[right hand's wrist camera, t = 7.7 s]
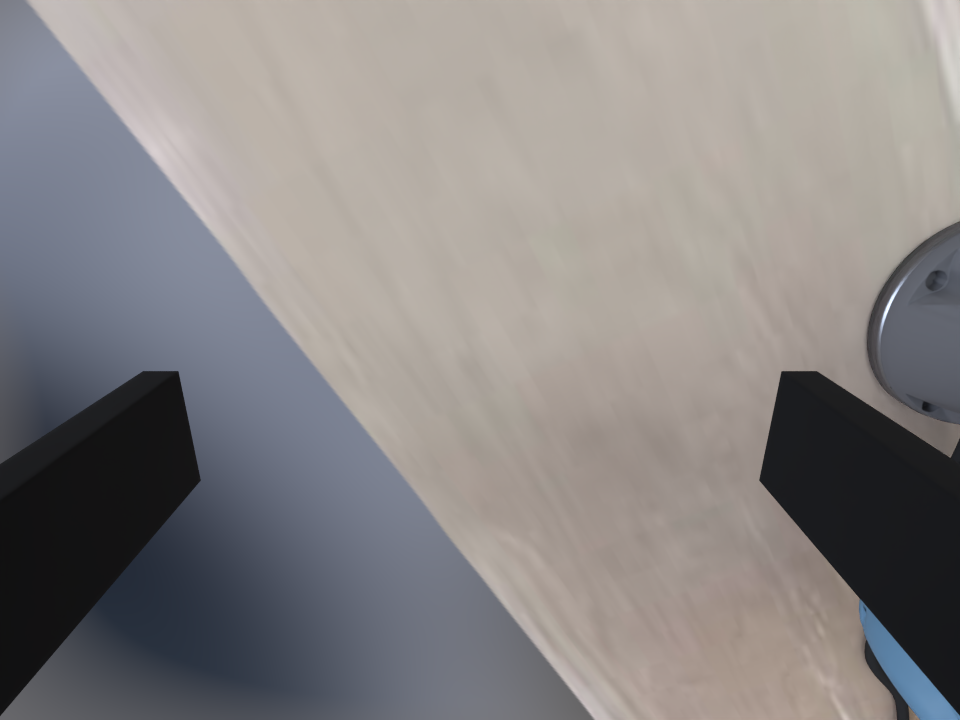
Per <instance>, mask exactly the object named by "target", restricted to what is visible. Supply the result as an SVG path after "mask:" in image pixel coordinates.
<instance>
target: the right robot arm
mask: <svg viewBox="0 0 960 720" xmlns="http://www.w3.org/2000/svg"><path fill="white" fill-rule="evenodd" d="M867 346H868V355H869V361H870V364H871V367H872V370H873V372H874V374H875V376H876V378H877V380H878V381H879V383H880V384H881V386H882V387H883V388H884V389H885V390H886V391H887V392H888V393H889V394H890V395H891V396H892V397H894V398H895V399H896V400H898V401H900V402H901V403H903V404H905V405H906V406H908V407H910V408H911V409H913V410H915V411H917V412H919V413H921V414H924V415H926V416H929V417H932V418H934V419H938V420H941V421H945V422H950V423H955V424H960V222H958V223H956V224H954V225H951V226H949V227H947V228H945V229H944V230H942V231H940V232H938V233H937V234H935V235H934V236H932V237H931V238H929V239H928V240H926V241H925V242H924V243H923V244H921V245H920V246H919V247H918V248H916V249H915V250H914V251H913V252H912V253H911V254H910V255H909V256H908V257H907V258H906V259H905V260H904V261H903V262H902V263H901V264H900V265H899V266H898V268H897V269H896V270H895V271H894V273H893V274H892V275H891V277H890V278H889V280H888V281H887V283H886V284H885V286H884V288H883V289H882V291H881V293H880V295H879V297H878V299H877V301H876V303H875V306H874V309H873V312H872V315H871V319H870V323H869V328H868V339H867ZM759 481H760V482H761V483H762V484H763V485H764V486H765V488H766V489H767V490H768V491H769V492H770V494H771V495H772V496H773V497H774V498H775V499H776V501H777V502H778V503H779V504H780V505H781V506H782V508H783V509H784V510H785V511H786V512H787V513H788V515H789V516H790V517H791V518H792V519H793V521H794V522H795V523H796V524H797V525H798V526H799V528H800V529H801V530H802V531H803V532H804V533H805V535H806V536H807V537H808V538H809V539H810V540H811V542H812V543H813V544H814V545H815V546H816V548H817V549H818V550H819V551H820V552H821V553H822V555H823V556H824V557H825V558H826V559H827V560H828V562H829V563H830V564H831V565H832V566H833V568H834V569H835V570H836V571H837V572H838V573H839V575H840V576H841V577H842V578H843V579H844V580H845V582H846V583H847V584H848V585H849V586H850V587H851V589H852V590H853V591H854V592H855V593H856V595H857V596H858V597H859V598H860V601H859V613H860V620H861V623H862V626H863V630H864V633H865V637H866V639H867V640H866V644H865V658H866V661H867V664H868V666H869V667H870V669H871V670H872V672H873V673H874V675H875V676H876V677H877V678H878V679H879V680H880V681H881V682H882V683H883V684H884V685H885V687H886V688H887V689H888V690H889V691H890V692H891V694H892V695H893V697H894V700H895V703H896V710H897V720H909V709H908V705H909V707H910V708H911V709H912V710H913V712H914V713H915V714H916V715H917V716H918V718H919V719H920V720H960V439H959V441H958V444H957V446H956V448H955V450H954V452H953V455H952V457H951V458H949V457H948V456H946V455H945V454H943V453H942V452H940V451H939V450H937V449H936V448H934V447H933V446H931V445H929V444H928V443H926V442H925V441H923V440H922V439H920V438H919V437H917V436H916V435H914V434H913V433H911V432H909V431H908V430H906V429H905V428H903V427H902V426H900V425H899V424H897V423H896V422H894V421H893V420H891V419H889V418H888V417H886V416H885V415H883V414H882V413H880V412H879V411H877V410H876V409H874V408H873V407H871V406H869V405H868V404H866V403H865V402H863V401H862V400H860V399H859V398H857V397H856V396H854V395H853V394H851V393H849V392H848V391H846V390H845V389H843V388H842V387H840V386H839V385H837V384H836V383H834V382H833V381H831V380H829V379H828V378H826V377H825V376H823V375H822V374H820V373H819V372H817V371H782V372H781V377H780V382H779V387H778V392H777V397H776V401H775V406H774V411H773V416H772V421H771V426H770V431H769V436H768V440H767V445H766V450H765V455H764V460H763V465H762V470H761V475H760V479H759ZM199 482H200V475H199V470H198V465H197V460H196V455H195V450H194V445H193V440H192V436H191V431H190V426H189V421H188V416H187V411H186V406H185V402H184V397H183V392H182V387H181V382H180V377H179V372H178V371H143V372H141V373H140V374H138V375H137V376H135V377H134V378H132V379H131V380H129V381H128V382H126V383H124V384H123V385H121V386H120V387H118V388H117V389H115V390H114V391H112V392H111V393H109V394H107V395H106V396H104V397H103V398H101V399H100V400H98V401H97V402H95V403H94V404H92V405H91V406H89V407H87V408H86V409H84V410H83V411H81V412H80V413H78V414H77V415H75V416H74V417H72V418H71V419H69V420H67V421H66V422H64V423H63V424H61V425H60V426H58V427H57V428H55V429H54V430H52V431H51V432H49V433H47V434H46V435H44V436H43V437H41V438H40V439H38V440H37V441H35V442H34V443H32V444H31V445H29V446H27V447H26V448H25V449H23V450H21V451H20V452H18V453H17V454H15V455H14V456H12V457H11V458H9V459H7V460H6V461H4V462H3V463H1V464H0V716H1V714H2V713H3V712H4V711H5V710H6V708H7V707H8V706H9V705H10V704H11V703H12V701H13V700H14V699H15V698H16V697H17V696H18V694H19V693H20V692H21V691H22V690H23V688H24V687H25V686H26V685H27V684H28V683H29V681H30V680H31V679H32V678H33V677H34V676H35V674H36V673H37V672H38V671H39V670H40V669H41V667H42V666H43V665H44V664H45V663H46V661H47V660H48V659H49V658H50V657H51V656H52V654H53V653H54V652H55V651H56V650H57V649H58V647H59V646H60V645H61V644H62V643H63V641H64V640H65V639H66V638H67V637H68V636H69V634H70V633H71V632H72V631H73V630H74V629H75V627H76V626H77V625H78V624H79V623H80V622H81V620H82V619H83V618H84V617H85V616H86V614H87V613H88V612H89V611H90V610H91V609H92V607H93V606H94V605H95V604H96V603H97V602H98V600H99V599H100V598H101V597H102V596H103V594H104V593H105V592H106V591H107V590H108V589H109V587H110V586H111V585H112V584H113V583H114V582H115V580H116V579H117V578H118V577H119V576H120V575H121V573H122V572H123V571H124V570H125V569H126V567H127V566H128V565H129V564H130V563H131V562H132V560H133V559H134V558H135V557H136V556H137V555H138V553H139V552H140V551H141V550H142V549H143V548H144V546H145V545H146V544H147V543H148V542H149V540H150V539H151V538H152V537H153V536H154V535H155V533H156V532H157V531H158V530H159V529H160V528H161V526H162V525H163V524H164V523H165V522H166V521H167V519H168V518H169V517H170V516H171V515H172V513H173V512H174V511H175V510H176V509H177V507H178V506H179V505H180V504H181V503H182V502H183V501H184V499H185V498H186V497H187V496H188V495H189V494H190V492H191V491H192V490H193V489H194V488H195V486H196V485H197V484H198V483H199Z"/></svg>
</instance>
